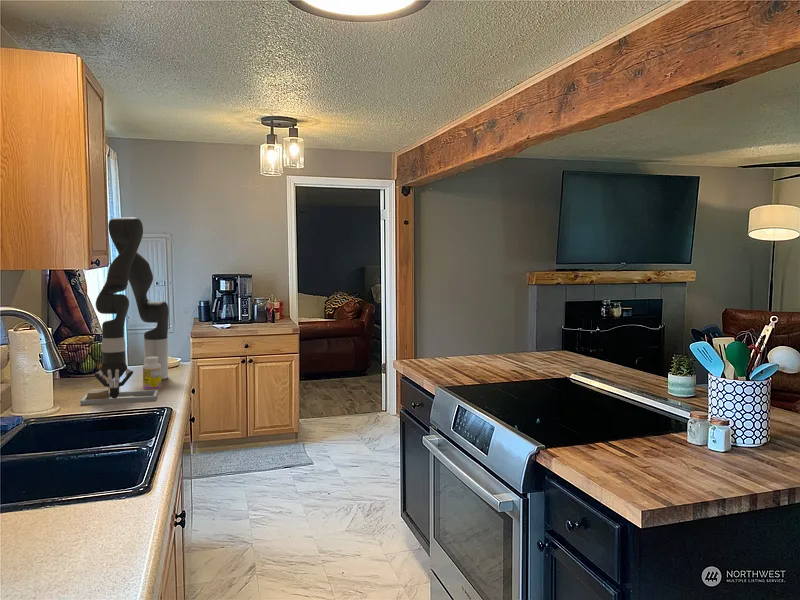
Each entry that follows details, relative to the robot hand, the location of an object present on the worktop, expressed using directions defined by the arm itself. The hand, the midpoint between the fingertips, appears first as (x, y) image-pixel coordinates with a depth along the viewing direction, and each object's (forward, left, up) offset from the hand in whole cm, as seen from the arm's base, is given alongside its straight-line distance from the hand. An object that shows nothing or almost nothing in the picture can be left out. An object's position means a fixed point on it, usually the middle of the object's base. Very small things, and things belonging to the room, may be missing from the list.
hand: (114, 397), depth 209 cm
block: (0, -5, -1) cm, 5 cm away
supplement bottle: (-18, +11, -2) cm, 21 cm away
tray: (0, +2, -2) cm, 3 cm away
